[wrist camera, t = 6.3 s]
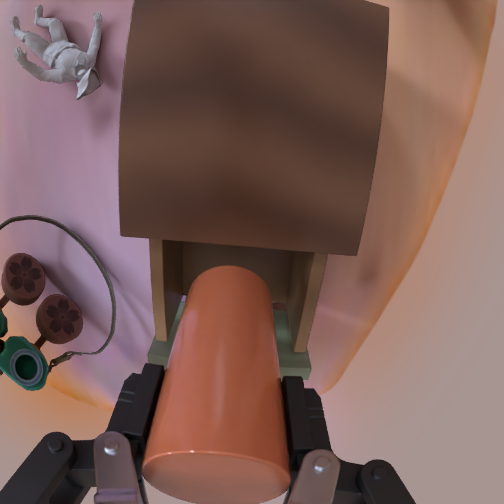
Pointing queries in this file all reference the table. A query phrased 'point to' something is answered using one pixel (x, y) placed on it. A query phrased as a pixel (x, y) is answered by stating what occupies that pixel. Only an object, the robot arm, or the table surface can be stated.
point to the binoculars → (40, 315)
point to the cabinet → (251, 121)
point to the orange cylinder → (221, 398)
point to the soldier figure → (60, 54)
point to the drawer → (252, 258)
